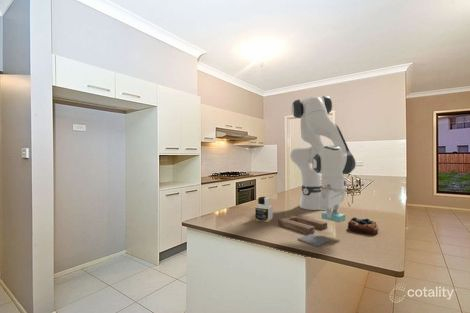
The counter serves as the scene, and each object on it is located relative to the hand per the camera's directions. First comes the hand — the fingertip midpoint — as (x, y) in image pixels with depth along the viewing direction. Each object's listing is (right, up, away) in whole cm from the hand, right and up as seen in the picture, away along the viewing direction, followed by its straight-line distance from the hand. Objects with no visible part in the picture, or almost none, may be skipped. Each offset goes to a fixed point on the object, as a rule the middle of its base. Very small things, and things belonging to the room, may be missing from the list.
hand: (332, 215), depth 102 cm
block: (0, -2, 0) cm, 2 cm away
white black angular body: (-27, -9, +25) cm, 37 cm away
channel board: (-10, -8, +12) cm, 18 cm away
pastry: (+16, -9, +6) cm, 19 cm away
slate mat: (-10, -9, -6) cm, 15 cm away
